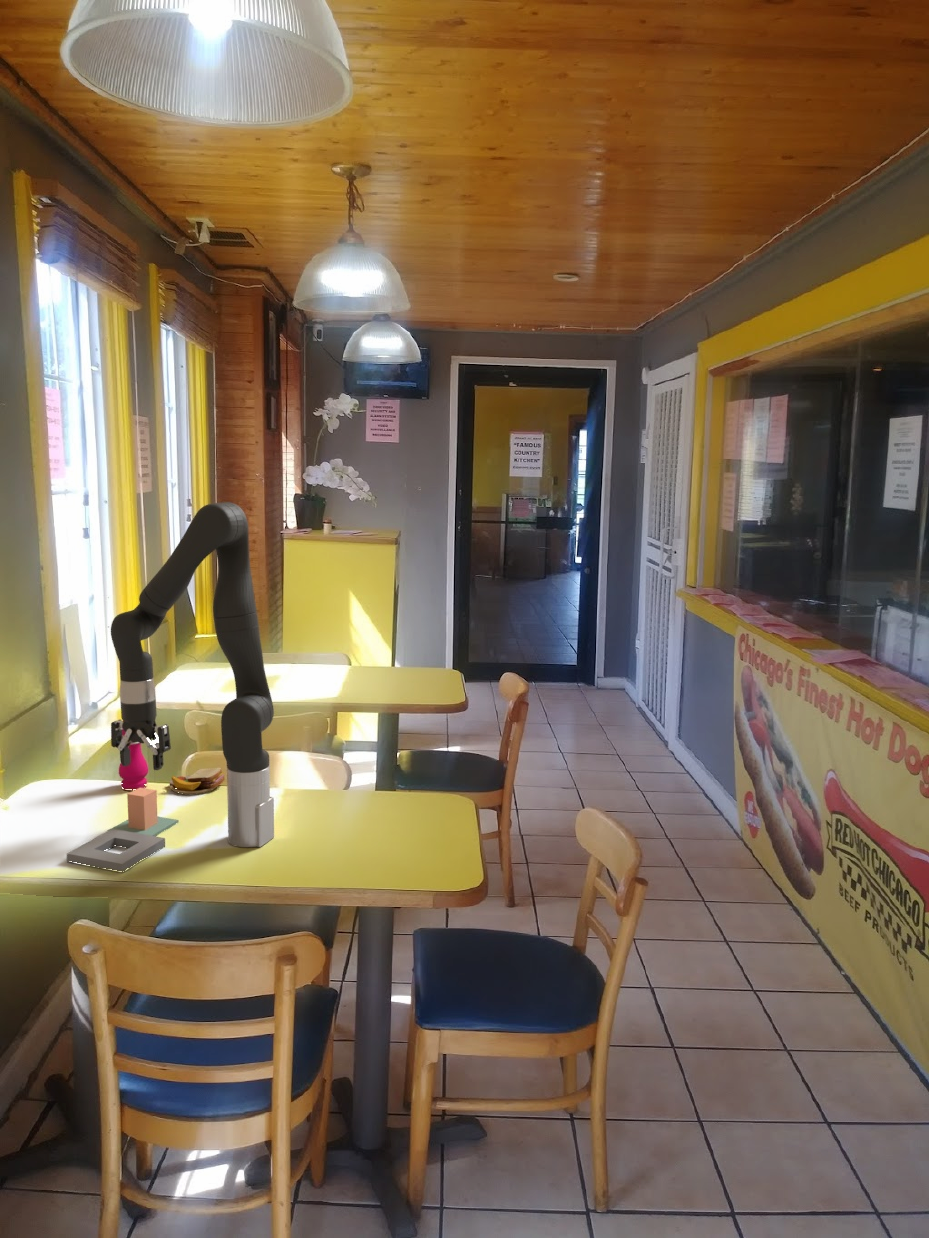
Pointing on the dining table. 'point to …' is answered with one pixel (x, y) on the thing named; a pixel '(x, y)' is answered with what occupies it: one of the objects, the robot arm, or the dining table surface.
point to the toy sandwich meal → (198, 781)
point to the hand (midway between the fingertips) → (142, 767)
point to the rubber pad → (152, 831)
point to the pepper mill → (134, 768)
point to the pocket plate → (97, 857)
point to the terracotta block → (142, 808)
